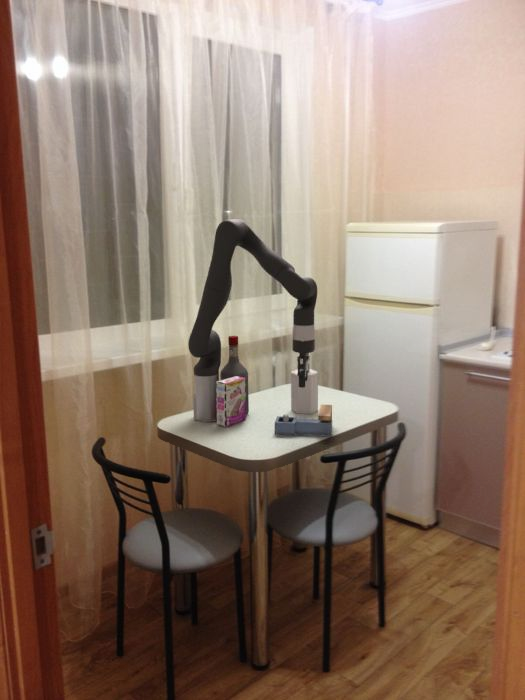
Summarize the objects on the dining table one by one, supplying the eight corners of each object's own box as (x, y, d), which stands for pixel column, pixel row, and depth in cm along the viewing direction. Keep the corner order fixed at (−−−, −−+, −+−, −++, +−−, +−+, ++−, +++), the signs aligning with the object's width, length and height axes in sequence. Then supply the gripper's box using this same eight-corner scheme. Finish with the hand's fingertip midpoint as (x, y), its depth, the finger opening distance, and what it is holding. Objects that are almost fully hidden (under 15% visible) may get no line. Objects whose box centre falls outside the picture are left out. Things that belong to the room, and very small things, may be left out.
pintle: (282, 432, 223) (282, 416, 221) (283, 431, 225) (283, 414, 223) (288, 433, 222) (288, 416, 221) (289, 431, 224) (289, 414, 223)
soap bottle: (318, 407, 252) (318, 352, 247) (317, 414, 243) (317, 357, 239) (291, 406, 253) (291, 352, 248) (290, 413, 244) (290, 357, 240)
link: (274, 435, 221) (274, 422, 220) (277, 428, 228) (277, 416, 227) (331, 437, 218) (331, 424, 217) (332, 430, 224) (332, 418, 224)
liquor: (232, 408, 252) (230, 333, 245) (251, 412, 246) (250, 335, 240) (218, 414, 244) (216, 337, 238) (237, 418, 239) (235, 339, 233)
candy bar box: (226, 428, 229) (225, 383, 225) (216, 425, 232) (214, 381, 229) (246, 420, 237) (246, 377, 234) (236, 417, 240) (235, 375, 237)
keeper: (318, 438, 217) (318, 415, 215) (320, 426, 229) (320, 404, 228) (329, 438, 216) (330, 416, 215) (331, 426, 229) (332, 404, 227)
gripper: (294, 333, 223) (294, 378, 227) (290, 341, 209) (289, 389, 213) (316, 333, 222) (315, 379, 225) (313, 341, 208) (312, 390, 212)
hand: (303, 383), depth 219 cm, fingers open, 8 cm apart
